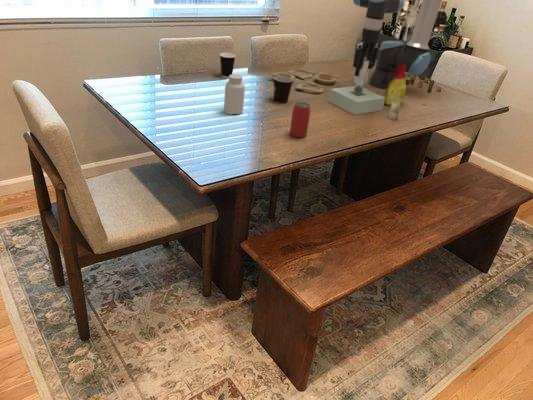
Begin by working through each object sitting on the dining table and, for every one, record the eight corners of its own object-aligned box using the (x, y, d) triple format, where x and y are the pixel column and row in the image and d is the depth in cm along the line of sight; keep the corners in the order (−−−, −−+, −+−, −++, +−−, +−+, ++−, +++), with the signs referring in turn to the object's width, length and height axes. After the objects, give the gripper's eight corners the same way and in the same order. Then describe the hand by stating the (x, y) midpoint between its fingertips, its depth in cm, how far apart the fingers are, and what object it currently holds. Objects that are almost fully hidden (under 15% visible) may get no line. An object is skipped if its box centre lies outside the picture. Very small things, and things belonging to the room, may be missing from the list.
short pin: (392, 116, 197) (396, 101, 194) (398, 119, 195) (402, 104, 191) (386, 117, 195) (390, 102, 192) (392, 120, 193) (396, 105, 189)
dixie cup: (215, 76, 220) (216, 54, 214) (224, 73, 226) (225, 51, 220) (228, 80, 217) (229, 58, 211) (237, 77, 223) (238, 55, 217)
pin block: (355, 97, 215) (358, 85, 211) (382, 110, 202) (385, 97, 199) (328, 101, 205) (330, 88, 202) (354, 115, 193) (357, 102, 190)
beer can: (288, 130, 170) (292, 101, 164) (304, 131, 171) (309, 102, 165) (290, 137, 165) (295, 107, 159) (307, 138, 166) (312, 108, 159)
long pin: (358, 88, 202) (365, 58, 195) (364, 91, 200) (371, 60, 192) (352, 89, 200) (358, 58, 193) (358, 92, 198) (365, 61, 190)
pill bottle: (228, 116, 177) (230, 79, 169) (220, 108, 183) (222, 73, 175) (246, 114, 180) (248, 78, 172) (238, 107, 186) (240, 72, 178)
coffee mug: (288, 105, 195) (291, 83, 190) (269, 102, 196) (272, 80, 191) (292, 97, 205) (295, 76, 200) (274, 94, 206) (276, 73, 201)
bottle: (387, 107, 207) (398, 65, 196) (378, 102, 212) (388, 61, 201) (405, 105, 213) (416, 63, 202) (395, 100, 217) (406, 60, 207)
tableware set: (314, 97, 210) (316, 89, 207) (263, 82, 221) (264, 74, 219) (343, 82, 236) (344, 75, 234) (296, 70, 247) (297, 62, 245)
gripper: (379, 26, 193) (367, 78, 205) (351, 26, 184) (340, 81, 196) (392, 30, 188) (378, 83, 200) (364, 30, 179) (352, 86, 191)
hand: (360, 82), depth 198 cm, fingers closed on long pin, 4 cm apart
